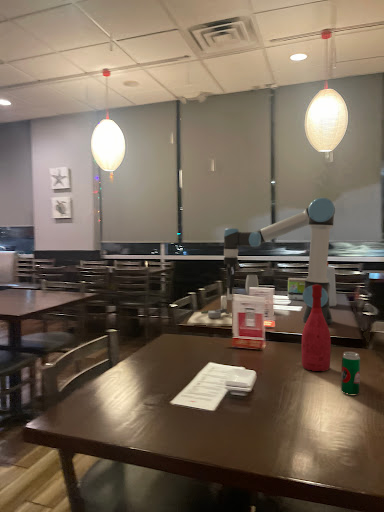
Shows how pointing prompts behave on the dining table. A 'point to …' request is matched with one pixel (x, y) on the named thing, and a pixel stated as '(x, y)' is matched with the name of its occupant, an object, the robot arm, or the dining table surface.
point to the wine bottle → (316, 336)
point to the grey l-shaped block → (223, 309)
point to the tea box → (296, 288)
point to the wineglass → (251, 282)
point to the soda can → (350, 373)
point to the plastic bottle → (331, 285)
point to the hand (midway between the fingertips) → (230, 299)
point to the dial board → (210, 319)
